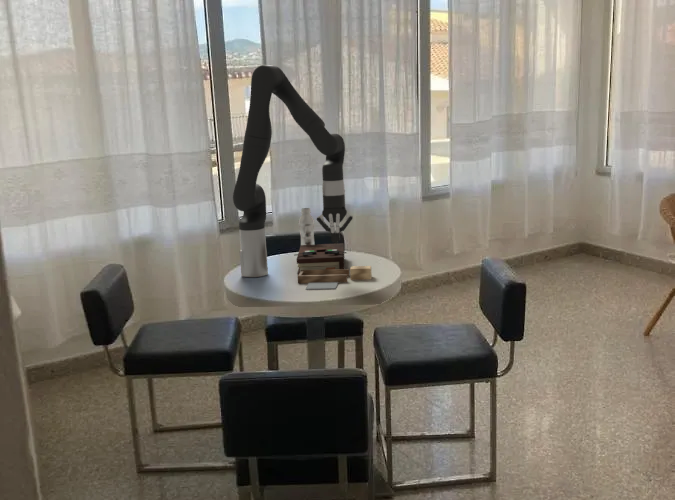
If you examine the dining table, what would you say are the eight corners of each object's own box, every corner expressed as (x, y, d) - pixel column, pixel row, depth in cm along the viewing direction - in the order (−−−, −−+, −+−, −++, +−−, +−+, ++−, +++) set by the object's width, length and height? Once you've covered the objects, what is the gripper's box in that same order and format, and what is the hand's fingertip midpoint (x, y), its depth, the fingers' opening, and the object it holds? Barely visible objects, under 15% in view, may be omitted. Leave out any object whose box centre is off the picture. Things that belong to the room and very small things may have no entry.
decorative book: (346, 239, 280) (346, 255, 251) (347, 258, 282) (347, 276, 253) (298, 242, 281) (292, 258, 251) (299, 260, 282) (293, 279, 253)
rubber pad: (305, 289, 236) (305, 288, 236) (309, 283, 244) (309, 282, 243) (335, 289, 235) (335, 287, 235) (338, 283, 242) (338, 281, 242)
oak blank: (350, 280, 246) (350, 269, 245) (351, 277, 250) (351, 266, 249) (370, 279, 245) (370, 268, 245) (371, 277, 249) (371, 265, 248)
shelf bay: (298, 283, 245) (297, 276, 244) (301, 276, 254) (301, 270, 253) (347, 282, 243) (346, 275, 243) (349, 275, 252) (349, 268, 251)
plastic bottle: (318, 256, 287) (315, 207, 283) (314, 260, 280) (311, 209, 276) (303, 256, 288) (300, 207, 284) (298, 260, 282) (295, 210, 278)
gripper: (313, 195, 239) (315, 246, 242) (352, 194, 238) (354, 244, 241) (315, 192, 246) (317, 241, 249) (353, 191, 245) (355, 240, 249)
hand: (335, 243), depth 245 cm, fingers closed
